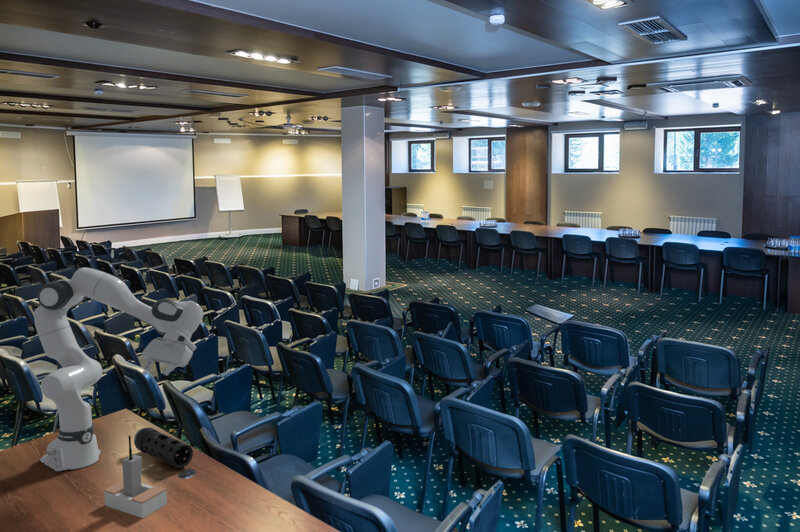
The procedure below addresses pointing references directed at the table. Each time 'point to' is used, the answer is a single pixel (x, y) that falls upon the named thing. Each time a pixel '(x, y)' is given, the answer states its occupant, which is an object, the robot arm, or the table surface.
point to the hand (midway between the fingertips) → (155, 372)
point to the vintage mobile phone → (132, 474)
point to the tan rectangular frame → (136, 499)
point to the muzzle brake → (163, 447)
